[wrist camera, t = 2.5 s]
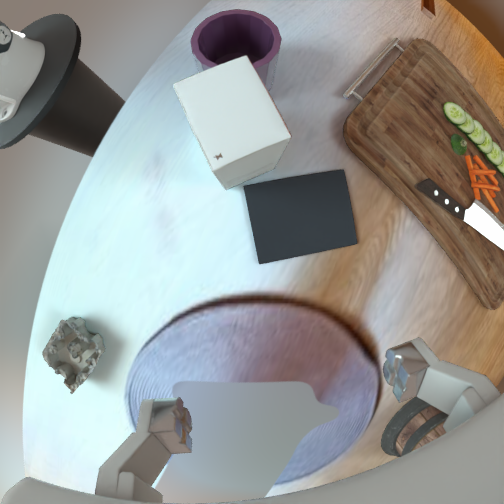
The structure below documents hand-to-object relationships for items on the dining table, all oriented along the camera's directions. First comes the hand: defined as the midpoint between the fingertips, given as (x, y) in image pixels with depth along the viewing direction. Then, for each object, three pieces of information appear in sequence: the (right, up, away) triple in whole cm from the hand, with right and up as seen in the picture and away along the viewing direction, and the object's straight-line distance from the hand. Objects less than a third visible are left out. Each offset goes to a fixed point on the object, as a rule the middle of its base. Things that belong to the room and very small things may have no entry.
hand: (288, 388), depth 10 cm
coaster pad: (+4, +9, +23) cm, 25 cm away
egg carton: (-27, -9, +24) cm, 37 cm away
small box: (-3, +17, +22) cm, 28 cm away
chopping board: (+33, +17, +23) cm, 43 cm away
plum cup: (-3, +26, +20) cm, 34 cm away
